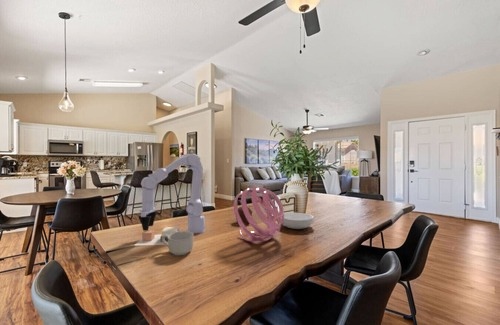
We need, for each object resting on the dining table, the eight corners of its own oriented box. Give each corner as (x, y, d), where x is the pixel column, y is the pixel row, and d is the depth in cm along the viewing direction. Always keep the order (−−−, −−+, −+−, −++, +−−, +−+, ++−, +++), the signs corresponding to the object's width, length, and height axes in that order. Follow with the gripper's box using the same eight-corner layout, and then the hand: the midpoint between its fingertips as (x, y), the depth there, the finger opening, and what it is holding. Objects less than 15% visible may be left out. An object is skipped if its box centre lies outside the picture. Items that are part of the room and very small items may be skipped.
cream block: (179, 231, 125) (179, 227, 125) (176, 236, 118) (176, 231, 118) (165, 232, 124) (165, 227, 124) (161, 236, 117) (161, 231, 117)
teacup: (198, 250, 108) (198, 232, 108) (183, 259, 98) (183, 240, 97) (172, 246, 112) (172, 229, 112) (156, 255, 102) (156, 236, 102)
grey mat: (183, 234, 130) (183, 233, 130) (177, 245, 114) (177, 244, 114) (145, 235, 128) (145, 234, 128) (133, 246, 112) (133, 245, 112)
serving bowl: (318, 225, 148) (318, 214, 148) (306, 234, 131) (306, 222, 131) (287, 221, 160) (287, 210, 160) (272, 228, 142) (272, 217, 142)
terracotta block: (154, 237, 123) (154, 230, 123) (151, 240, 118) (151, 232, 118) (145, 238, 122) (145, 230, 122) (142, 241, 118) (142, 233, 118)
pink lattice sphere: (213, 199, 127) (249, 172, 114) (248, 205, 147) (282, 182, 134) (226, 252, 112) (268, 227, 100) (262, 250, 132) (302, 229, 120)
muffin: (245, 225, 148) (245, 209, 147) (231, 223, 154) (231, 207, 153) (255, 221, 157) (255, 206, 157) (242, 219, 164) (242, 204, 163)
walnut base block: (180, 236, 126) (180, 231, 126) (177, 241, 118) (177, 236, 118) (164, 236, 125) (164, 231, 125) (160, 241, 117) (160, 236, 117)
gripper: (145, 198, 127) (145, 224, 127) (134, 203, 113) (134, 232, 113) (158, 198, 128) (158, 224, 128) (149, 203, 113) (149, 232, 113)
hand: (148, 228), depth 120 cm, fingers open, 7 cm apart
